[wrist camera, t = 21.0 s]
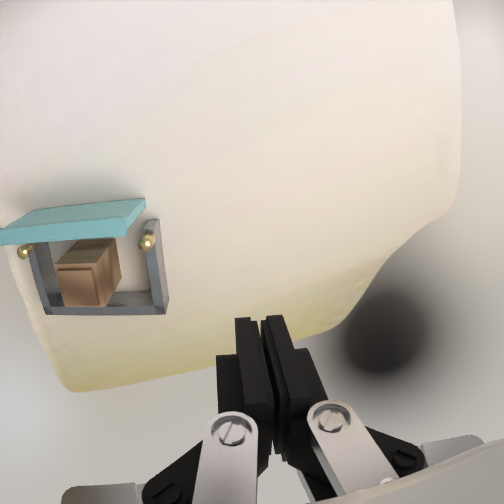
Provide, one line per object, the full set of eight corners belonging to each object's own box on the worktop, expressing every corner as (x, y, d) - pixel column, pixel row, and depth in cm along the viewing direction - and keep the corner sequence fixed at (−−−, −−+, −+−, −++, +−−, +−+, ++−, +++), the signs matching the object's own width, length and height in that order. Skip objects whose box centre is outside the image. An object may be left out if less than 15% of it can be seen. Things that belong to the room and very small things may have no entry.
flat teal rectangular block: (33, 207, 31) (-6, 231, 23) (144, 195, 33) (123, 217, 25) (35, 220, 32) (-3, 246, 24) (145, 209, 34) (125, 235, 25)
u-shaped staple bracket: (37, 229, 33) (15, 245, 28) (160, 219, 34) (150, 235, 29) (55, 300, 36) (38, 323, 31) (169, 298, 38) (164, 324, 33)
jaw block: (78, 240, 34) (51, 266, 27) (115, 238, 34) (94, 265, 27) (85, 277, 36) (63, 309, 29) (121, 277, 36) (103, 310, 29)
